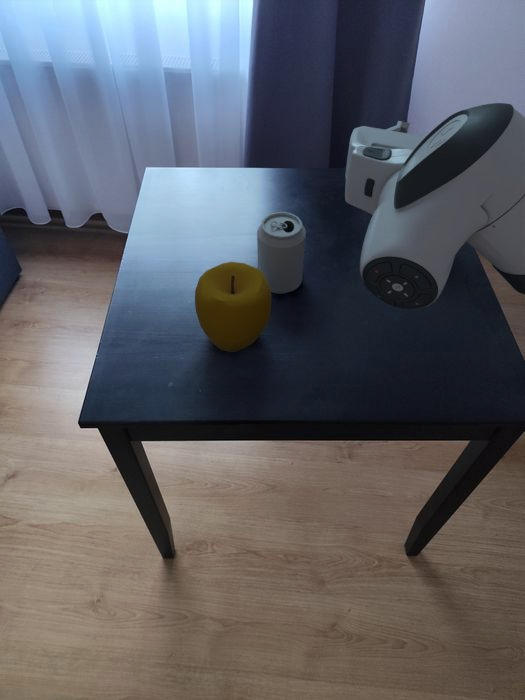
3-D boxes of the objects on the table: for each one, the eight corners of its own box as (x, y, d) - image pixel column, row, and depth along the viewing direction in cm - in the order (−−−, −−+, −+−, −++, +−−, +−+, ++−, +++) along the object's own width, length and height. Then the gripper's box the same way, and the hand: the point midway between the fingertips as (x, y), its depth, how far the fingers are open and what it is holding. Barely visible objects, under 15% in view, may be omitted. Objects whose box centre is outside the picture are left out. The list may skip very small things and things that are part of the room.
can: (302, 297, 79) (307, 239, 69) (257, 296, 79) (256, 238, 69) (301, 266, 83) (305, 208, 74) (258, 266, 84) (257, 207, 74)
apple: (250, 377, 69) (247, 317, 59) (186, 351, 72) (173, 290, 62) (282, 326, 75) (285, 264, 65) (222, 304, 78) (216, 241, 68)
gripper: (537, 185, 48) (538, 122, 56) (338, 149, 52) (366, 95, 60) (511, 236, 52) (516, 171, 60) (331, 199, 57) (358, 143, 65)
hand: (440, 133), depth 60 cm, fingers open, 8 cm apart
